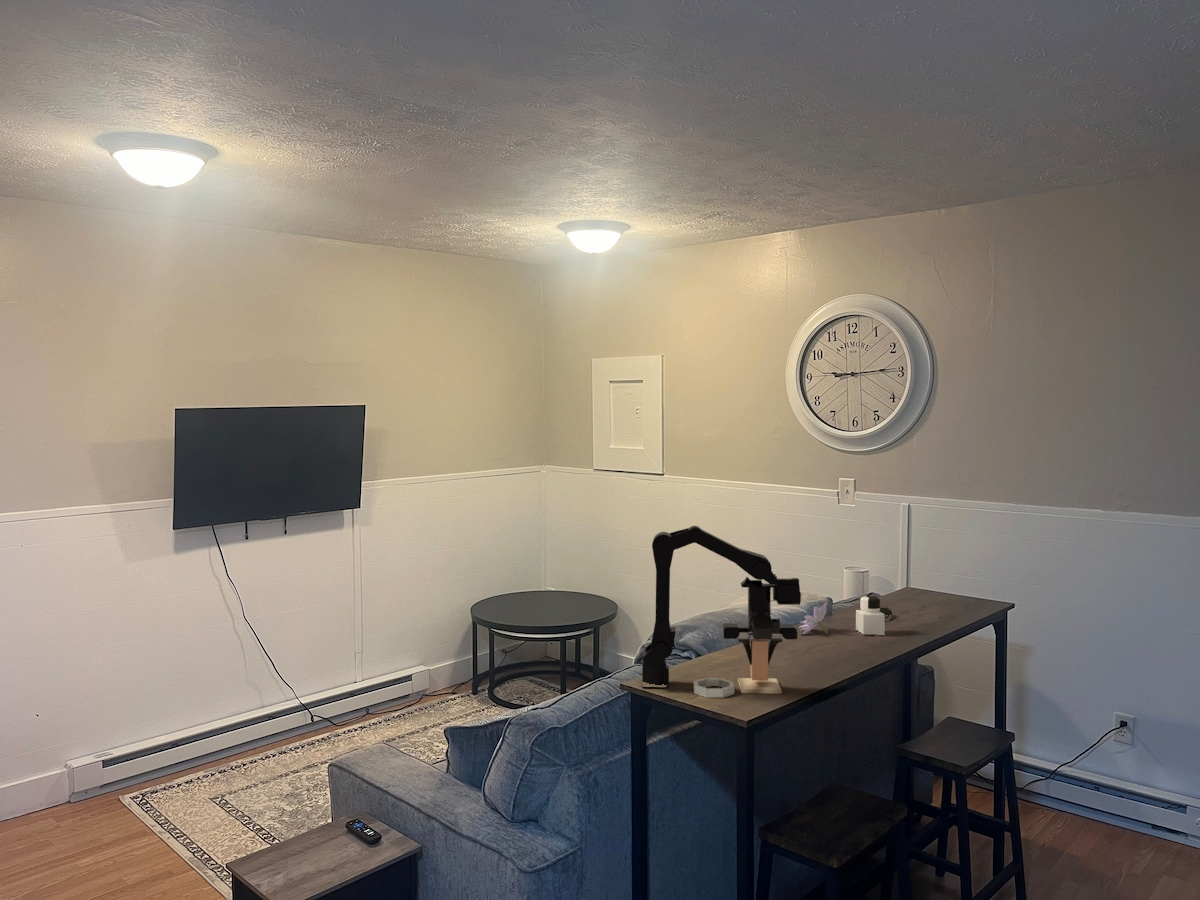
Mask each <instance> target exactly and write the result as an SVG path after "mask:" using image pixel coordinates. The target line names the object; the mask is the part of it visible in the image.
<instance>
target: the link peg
mask: <svg viewBox="0 0 1200 900" xmlns="http://www.w3.org/2000/svg"><path fill="white" fill-rule="evenodd" d="M750 649H751V657H752V665H750V664H749V665H750V669H749V670H750V678H752V680H768V678H769V665H768V640H767V639H754V638H753V637H750Z"/></svg>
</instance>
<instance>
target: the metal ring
mask: <svg viewBox="0 0 1200 900" xmlns="http://www.w3.org/2000/svg"><path fill="white" fill-rule="evenodd" d="M704 686H719V687H704ZM720 687H722V688H720ZM693 693H695V695H697V694H698V695H697V696H700V697H703V696H704V698H711V699H712V698H713V699H714V698H716V699H719V698H720V699H723V698H728V697H729V696H733V695H735V685H734V682H733V681H731V680H728V679H725V678H720V677H718V678H717V677H703V678H701V679H696V680H694V681H693Z"/></svg>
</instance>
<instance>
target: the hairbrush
mask: <svg viewBox="0 0 1200 900" xmlns="http://www.w3.org/2000/svg"><path fill="white" fill-rule="evenodd" d="M879 611H880V612H881V613H883V614H885V615H888V616H889V615H893V611H892V610H891V608H889V607H888V606H885V607H882V605H881V604H880V610H879Z"/></svg>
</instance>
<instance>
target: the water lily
mask: <svg viewBox="0 0 1200 900" xmlns="http://www.w3.org/2000/svg"><path fill="white" fill-rule="evenodd" d="M827 605H828V600H826V601H825V603H823V605H822V606H816V605H814V606H813V615H805V616H804V617H803V618H804V619H805V620H803V621H799V623H801V624H803V625H800V626H799V627H798V628H799V629H800V631H803V632H802V633H801V634H803V635H805V634H807V633H809V632H810V631H812V630H813V629H814V628H816V627H817V626H818V625H819V626H820V627H821V629H822V630H823V631H824V633H825V634H826V633H829V632H828V631H827V629H826V628H825V627H824V626H823V625H822V624H821V622H822V621H823V619H824V617H825V616H826V614H827Z"/></svg>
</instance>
